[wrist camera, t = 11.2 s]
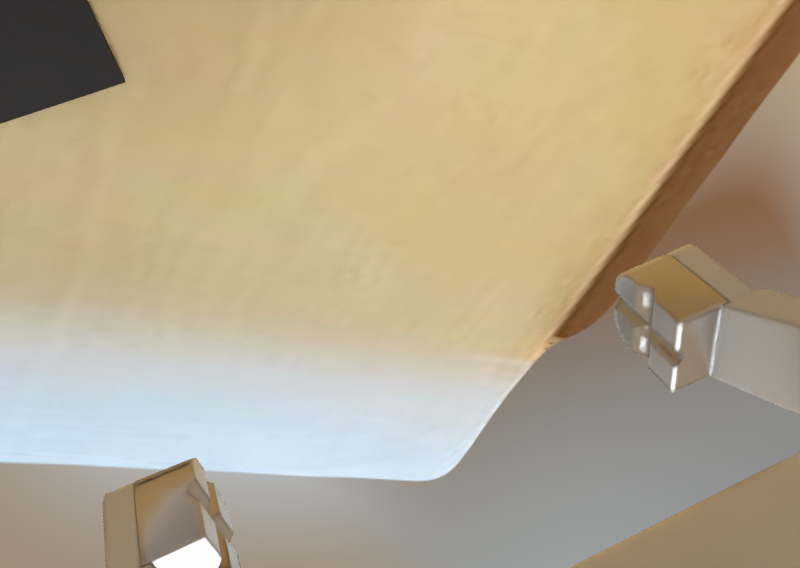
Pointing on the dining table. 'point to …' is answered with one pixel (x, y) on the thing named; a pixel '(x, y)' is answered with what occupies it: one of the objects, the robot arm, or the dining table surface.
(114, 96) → the dining table surface
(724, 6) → the dining table surface
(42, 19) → the mat
